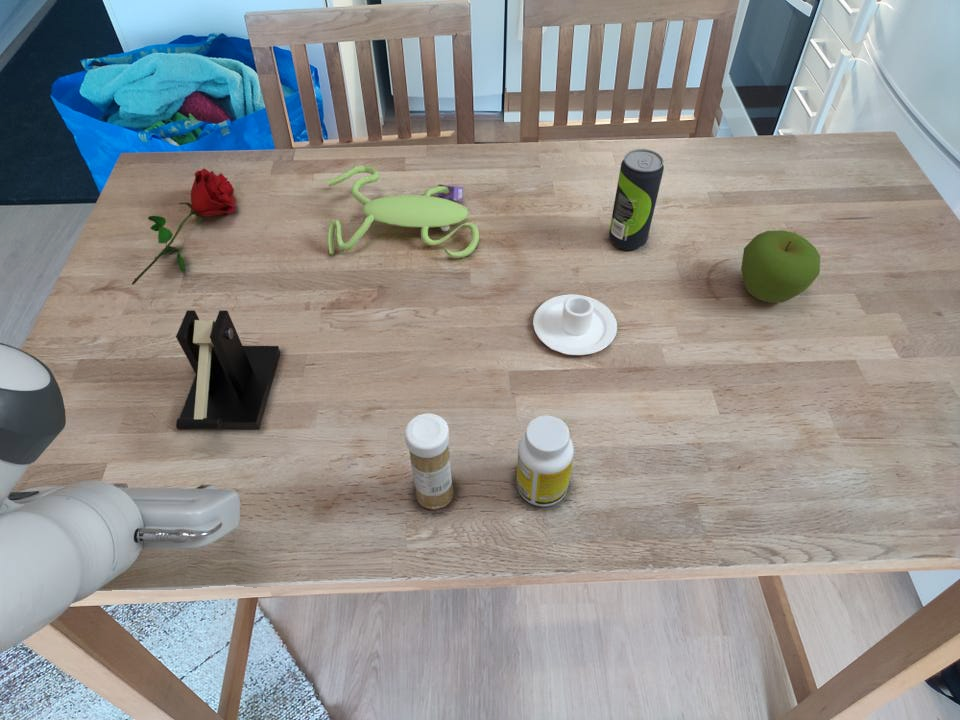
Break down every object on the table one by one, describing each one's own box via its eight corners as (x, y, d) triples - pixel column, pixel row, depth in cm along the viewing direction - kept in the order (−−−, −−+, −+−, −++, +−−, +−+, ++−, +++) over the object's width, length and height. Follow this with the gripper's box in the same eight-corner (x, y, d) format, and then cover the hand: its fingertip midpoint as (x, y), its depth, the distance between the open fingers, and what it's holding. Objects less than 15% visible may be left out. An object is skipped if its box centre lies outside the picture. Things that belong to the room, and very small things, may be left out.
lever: (224, 430, 79) (215, 429, 77) (182, 430, 79) (173, 429, 77) (231, 324, 81) (224, 320, 79) (191, 324, 82) (182, 319, 79)
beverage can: (648, 252, 106) (668, 171, 94) (610, 252, 106) (624, 171, 94) (644, 228, 110) (662, 147, 98) (606, 227, 110) (620, 147, 98)
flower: (134, 247, 90) (224, 145, 111) (91, 268, 94) (185, 165, 115) (182, 296, 95) (259, 189, 116) (139, 314, 99) (221, 207, 120)
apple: (735, 262, 104) (754, 210, 96) (805, 278, 101) (830, 226, 94) (726, 308, 97) (746, 256, 90) (801, 326, 95) (828, 274, 87)
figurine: (338, 187, 118) (332, 160, 114) (486, 194, 116) (486, 166, 112) (311, 255, 106) (304, 227, 102) (476, 263, 104) (475, 235, 100)
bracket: (259, 429, 84) (229, 365, 74) (181, 428, 84) (141, 364, 75) (280, 352, 93) (256, 286, 83) (210, 352, 93) (177, 285, 83)
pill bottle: (575, 473, 79) (585, 420, 71) (557, 516, 76) (566, 465, 67) (527, 455, 81) (531, 402, 73) (507, 496, 78) (510, 445, 69)
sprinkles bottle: (450, 474, 80) (444, 408, 69) (457, 507, 77) (452, 443, 66) (412, 481, 79) (401, 415, 69) (418, 515, 76) (407, 452, 66)
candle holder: (555, 368, 90) (557, 347, 87) (519, 310, 97) (520, 289, 94) (631, 343, 93) (637, 322, 90) (591, 289, 100) (595, 268, 97)
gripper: (204, 501, 55) (263, 463, 69) (-36, 497, 55) (70, 460, 69) (206, 575, 55) (264, 522, 69) (-32, 570, 56) (72, 518, 70)
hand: (165, 491), depth 69 cm, fingers open, 8 cm apart
